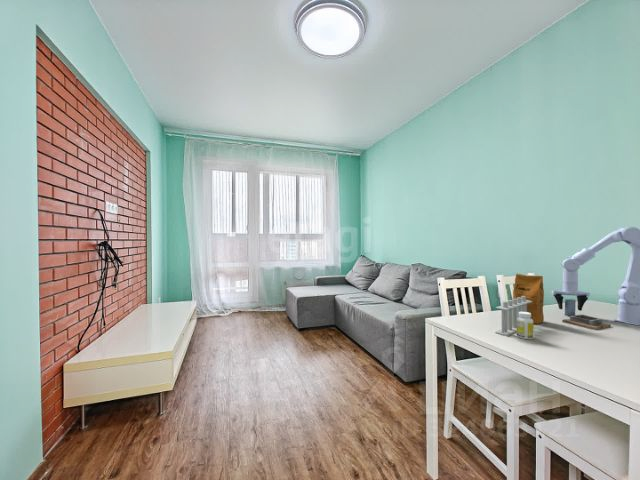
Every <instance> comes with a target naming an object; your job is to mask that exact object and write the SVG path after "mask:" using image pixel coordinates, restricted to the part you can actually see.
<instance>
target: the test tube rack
mask: <svg viewBox="0 0 640 480" xmlns="http://www.w3.org/2000/svg"><path fill="white" fill-rule="evenodd" d="M531 302H532V301H529V300H526V296H522V297H521V298H520V297H517V299H513V298H512V299H508V300H507V301H505V300H504V301H502V305H498V306H495V309H498V310H500V311H501V328H500V329H499V330H496V331H495V332H494V334H497V335H500V336H503V337H509V336H512V335H513V334H517V318H518V317H519V312H527V304H528V303H531Z"/></svg>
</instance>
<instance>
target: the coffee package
mask: <svg viewBox="0 0 640 480" xmlns="http://www.w3.org/2000/svg"><path fill="white" fill-rule="evenodd" d="M543 279H544V277H543V275H526V274H521V273H518V272H517V273H515V278H514V284H513V290H512V300H513V299H517V297H520V298H521V297H522V296H526V300H529V301H532V302H531V303H528V304H527V312H529V313H531V317H530V318H531V319H532V320H533V325H534V324H535V325H540V324H541V323H542V322H544V321H545V320H544V319H545V318H544V300H545V298H544V297H545V291H544V282H543Z"/></svg>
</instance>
